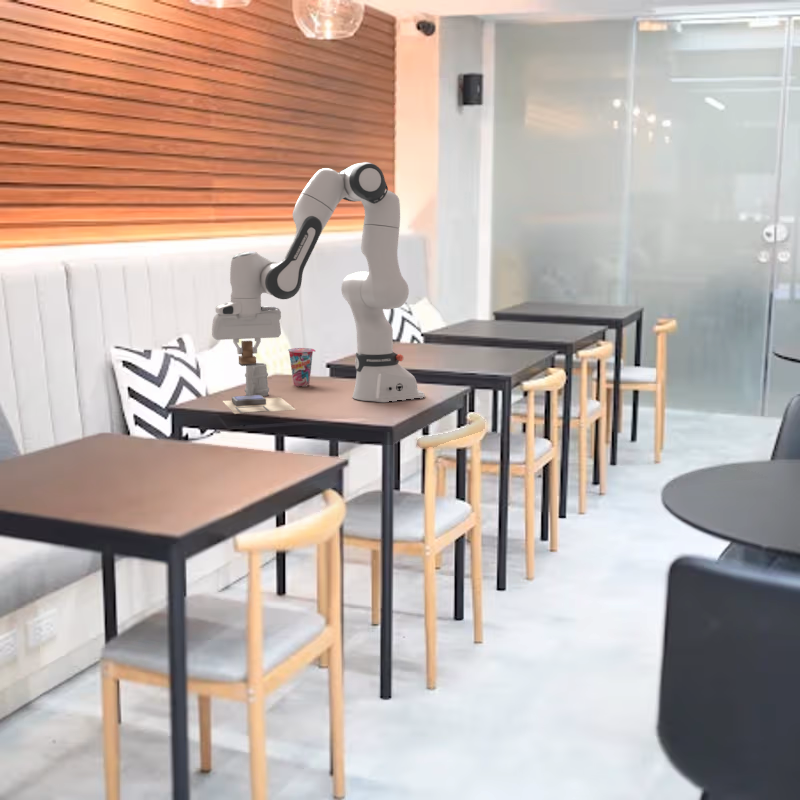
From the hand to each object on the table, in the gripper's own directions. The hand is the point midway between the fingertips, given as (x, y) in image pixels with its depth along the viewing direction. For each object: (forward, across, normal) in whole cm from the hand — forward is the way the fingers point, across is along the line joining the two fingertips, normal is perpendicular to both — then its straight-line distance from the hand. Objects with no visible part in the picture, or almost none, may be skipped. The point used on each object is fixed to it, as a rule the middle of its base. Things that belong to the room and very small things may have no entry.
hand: (247, 353), depth 331 cm
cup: (+16, -24, -31) cm, 42 cm away
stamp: (+3, 0, 0) cm, 3 cm away
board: (+16, -2, +4) cm, 17 cm away
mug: (+16, -5, -16) cm, 23 cm away
